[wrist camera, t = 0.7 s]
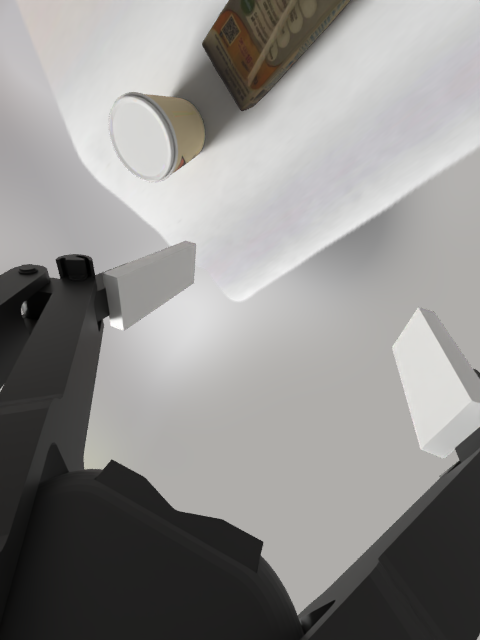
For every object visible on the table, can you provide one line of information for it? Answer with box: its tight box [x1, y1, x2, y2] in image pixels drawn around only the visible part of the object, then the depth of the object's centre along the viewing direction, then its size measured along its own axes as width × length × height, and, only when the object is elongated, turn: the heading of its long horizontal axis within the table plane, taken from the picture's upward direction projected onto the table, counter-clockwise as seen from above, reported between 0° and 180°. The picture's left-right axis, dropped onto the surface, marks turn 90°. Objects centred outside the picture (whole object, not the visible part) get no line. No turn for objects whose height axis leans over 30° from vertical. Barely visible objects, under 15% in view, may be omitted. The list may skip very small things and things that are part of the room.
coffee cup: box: [109, 92, 205, 182], centre depth 35 cm, size 9×9×12 cm
